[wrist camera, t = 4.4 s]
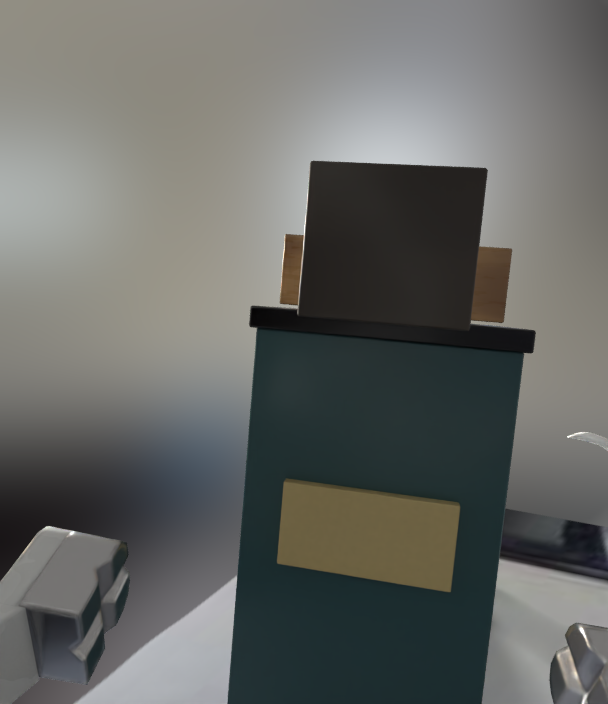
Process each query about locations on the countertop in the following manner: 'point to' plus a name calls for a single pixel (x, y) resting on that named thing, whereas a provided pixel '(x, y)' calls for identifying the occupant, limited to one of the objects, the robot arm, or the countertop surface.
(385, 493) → the teal box with label
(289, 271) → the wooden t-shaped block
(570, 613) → the countertop surface
